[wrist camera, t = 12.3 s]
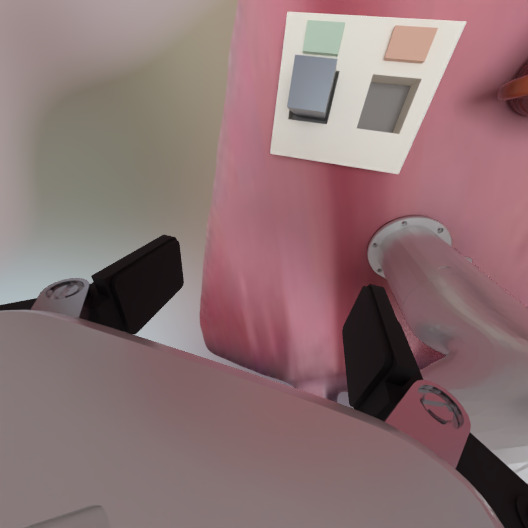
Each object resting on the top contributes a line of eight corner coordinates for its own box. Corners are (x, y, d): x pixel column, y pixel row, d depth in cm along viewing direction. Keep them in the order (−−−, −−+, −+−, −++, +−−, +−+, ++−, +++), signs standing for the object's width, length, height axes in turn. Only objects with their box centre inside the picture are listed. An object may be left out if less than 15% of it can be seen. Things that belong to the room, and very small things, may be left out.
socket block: (442, 42, 24) (471, 17, 19) (388, 170, 32) (400, 175, 27) (293, 32, 27) (286, 7, 22) (276, 152, 34) (268, 153, 29)
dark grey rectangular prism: (333, 84, 27) (337, 58, 19) (324, 121, 29) (324, 112, 21) (303, 81, 28) (295, 54, 19) (297, 116, 30) (287, 107, 21)
